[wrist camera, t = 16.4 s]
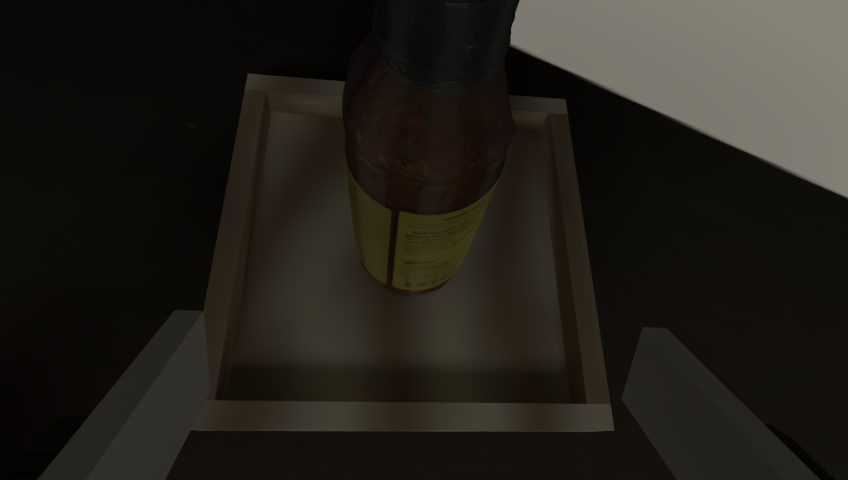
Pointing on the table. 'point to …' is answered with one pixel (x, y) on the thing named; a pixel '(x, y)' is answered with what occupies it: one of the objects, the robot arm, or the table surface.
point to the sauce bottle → (426, 135)
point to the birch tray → (388, 312)
